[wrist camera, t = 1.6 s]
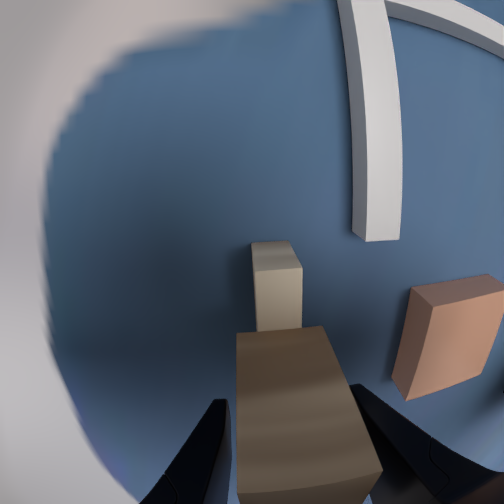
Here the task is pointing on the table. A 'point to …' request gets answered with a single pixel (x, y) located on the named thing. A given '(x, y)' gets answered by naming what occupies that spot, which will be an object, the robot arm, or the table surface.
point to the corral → (391, 97)
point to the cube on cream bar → (295, 400)
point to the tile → (447, 334)
